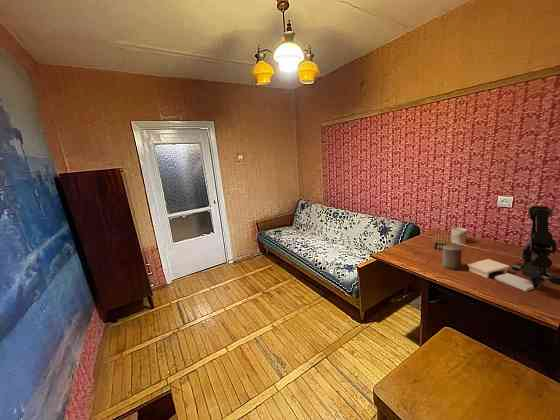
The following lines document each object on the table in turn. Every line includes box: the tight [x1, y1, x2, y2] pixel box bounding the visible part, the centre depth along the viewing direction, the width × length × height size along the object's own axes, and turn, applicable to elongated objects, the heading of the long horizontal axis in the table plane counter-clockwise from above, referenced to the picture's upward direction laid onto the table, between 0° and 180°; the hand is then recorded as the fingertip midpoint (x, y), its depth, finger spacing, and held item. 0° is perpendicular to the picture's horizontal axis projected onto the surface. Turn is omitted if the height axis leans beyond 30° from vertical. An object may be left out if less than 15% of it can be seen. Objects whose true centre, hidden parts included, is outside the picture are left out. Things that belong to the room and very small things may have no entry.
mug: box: [450, 227, 468, 245], centre depth 184 cm, size 10×12×11 cm
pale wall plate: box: [494, 272, 541, 292], centre depth 124 cm, size 10×14×2 cm
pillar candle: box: [442, 244, 463, 271], centre depth 146 cm, size 10×10×15 cm
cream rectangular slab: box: [467, 258, 510, 279], centre depth 137 cm, size 17×11×4 cm, turn 105°
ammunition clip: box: [433, 234, 453, 251], centre depth 173 cm, size 11×2×12 cm, turn 55°
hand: (535, 288), depth 117 cm, fingers closed
